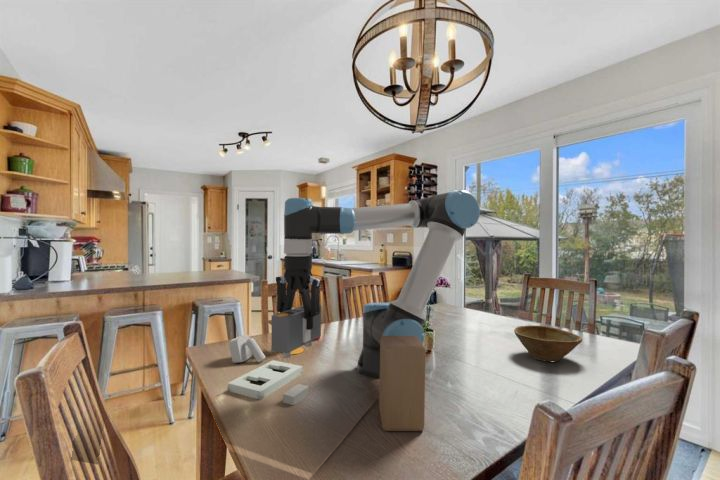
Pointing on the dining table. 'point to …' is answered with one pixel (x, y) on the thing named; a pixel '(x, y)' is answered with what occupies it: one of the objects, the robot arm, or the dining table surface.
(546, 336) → the bowl
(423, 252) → the robot arm
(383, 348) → the wooden block
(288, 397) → the foam block
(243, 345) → the wall hook
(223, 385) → the dining table surface
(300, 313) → the grey slotted block
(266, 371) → the keyhole board
